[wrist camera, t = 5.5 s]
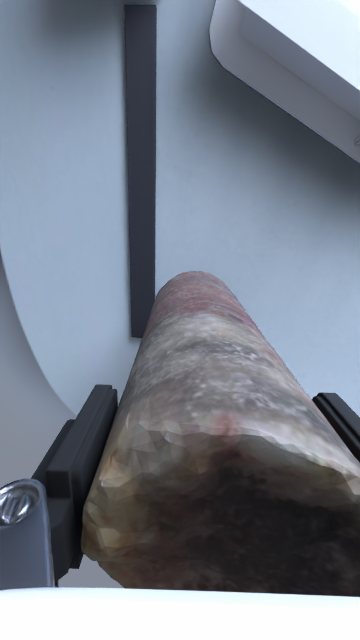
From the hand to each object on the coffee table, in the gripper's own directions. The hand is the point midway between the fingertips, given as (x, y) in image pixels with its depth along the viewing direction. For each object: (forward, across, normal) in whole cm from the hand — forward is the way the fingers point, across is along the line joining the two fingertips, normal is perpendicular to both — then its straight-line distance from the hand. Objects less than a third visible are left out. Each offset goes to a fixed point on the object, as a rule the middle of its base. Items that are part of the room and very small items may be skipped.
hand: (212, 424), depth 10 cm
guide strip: (+19, +5, -10) cm, 22 cm away
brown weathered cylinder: (+15, 0, 0) cm, 15 cm away
